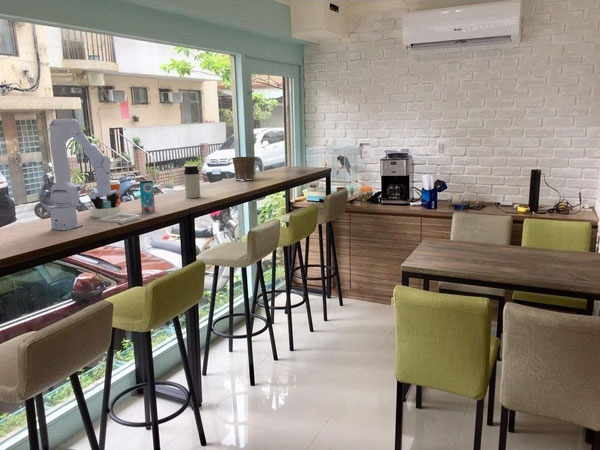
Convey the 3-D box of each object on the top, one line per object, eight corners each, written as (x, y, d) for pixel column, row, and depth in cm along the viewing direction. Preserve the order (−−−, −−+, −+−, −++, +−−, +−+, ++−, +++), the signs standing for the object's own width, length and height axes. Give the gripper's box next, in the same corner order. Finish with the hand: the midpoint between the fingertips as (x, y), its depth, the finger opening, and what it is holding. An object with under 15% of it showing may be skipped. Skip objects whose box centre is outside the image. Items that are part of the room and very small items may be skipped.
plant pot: (249, 182, 343) (248, 158, 339) (228, 181, 348) (227, 158, 345) (260, 179, 357) (259, 156, 354) (239, 179, 363) (238, 156, 360)
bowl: (106, 219, 222) (105, 209, 221) (85, 218, 227) (84, 208, 226) (127, 214, 233) (126, 205, 232) (106, 213, 238) (105, 203, 237)
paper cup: (117, 210, 244) (114, 182, 241) (103, 210, 246) (100, 181, 243) (125, 207, 252) (123, 180, 249) (111, 207, 253) (109, 179, 250)
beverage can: (144, 214, 232) (141, 182, 229) (140, 212, 237) (137, 181, 234) (156, 213, 235) (154, 181, 232) (153, 211, 240) (150, 180, 237)
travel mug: (190, 198, 276) (188, 166, 272) (183, 197, 282) (181, 165, 278) (203, 197, 281) (201, 165, 278) (195, 195, 287) (193, 164, 283)
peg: (106, 215, 227) (105, 202, 226) (99, 215, 229) (98, 202, 228) (114, 214, 231) (112, 201, 230) (106, 213, 233) (105, 200, 231)
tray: (121, 224, 211) (120, 220, 211) (99, 222, 216) (99, 218, 216) (141, 219, 222) (140, 215, 221) (120, 217, 227) (119, 213, 226)
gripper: (108, 180, 235) (111, 208, 238) (84, 184, 222) (87, 214, 225) (120, 180, 232) (123, 209, 235) (96, 184, 219) (99, 215, 222)
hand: (106, 212), depth 230 cm, fingers open, 7 cm apart
